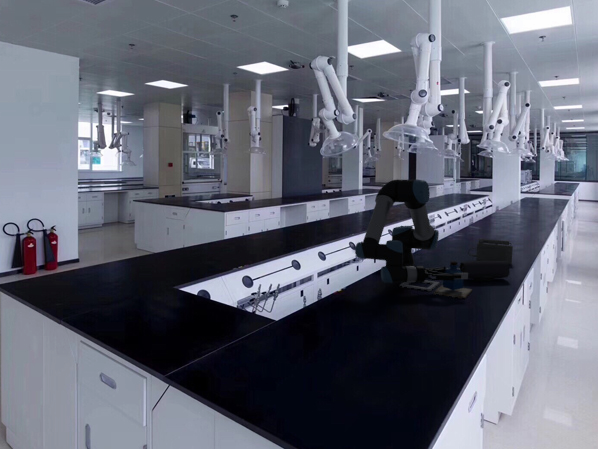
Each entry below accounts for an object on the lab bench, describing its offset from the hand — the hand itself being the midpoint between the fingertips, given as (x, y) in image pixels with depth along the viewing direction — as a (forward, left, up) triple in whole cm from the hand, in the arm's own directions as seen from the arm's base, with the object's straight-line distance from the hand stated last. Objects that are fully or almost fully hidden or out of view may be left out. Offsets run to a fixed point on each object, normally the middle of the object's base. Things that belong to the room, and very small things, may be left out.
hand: (463, 273), depth 203 cm
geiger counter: (-3, +75, -9) cm, 76 cm away
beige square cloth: (-4, -3, -9) cm, 10 cm away
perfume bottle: (-4, -3, -7) cm, 8 cm away
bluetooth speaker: (+3, +29, -9) cm, 31 cm away
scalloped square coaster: (-21, +1, -9) cm, 23 cm away
